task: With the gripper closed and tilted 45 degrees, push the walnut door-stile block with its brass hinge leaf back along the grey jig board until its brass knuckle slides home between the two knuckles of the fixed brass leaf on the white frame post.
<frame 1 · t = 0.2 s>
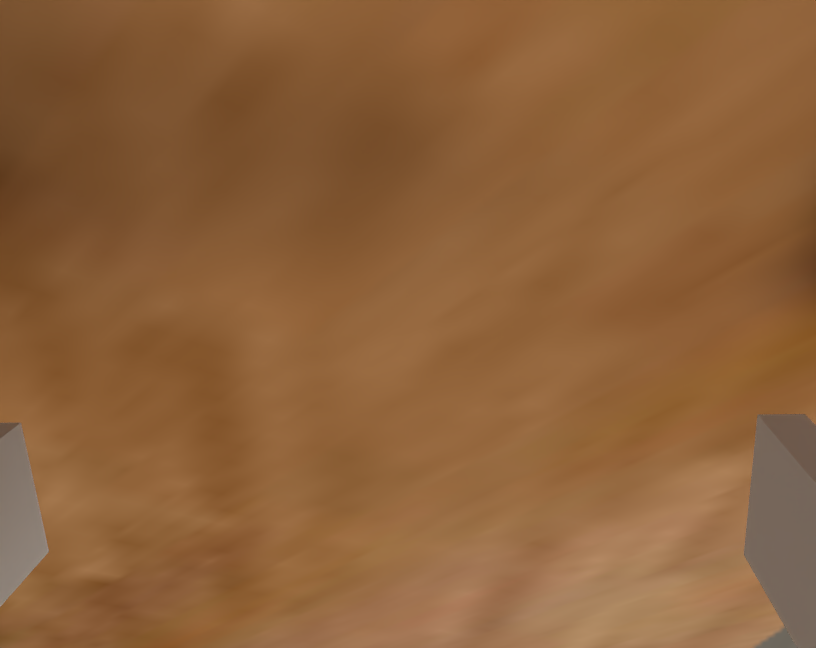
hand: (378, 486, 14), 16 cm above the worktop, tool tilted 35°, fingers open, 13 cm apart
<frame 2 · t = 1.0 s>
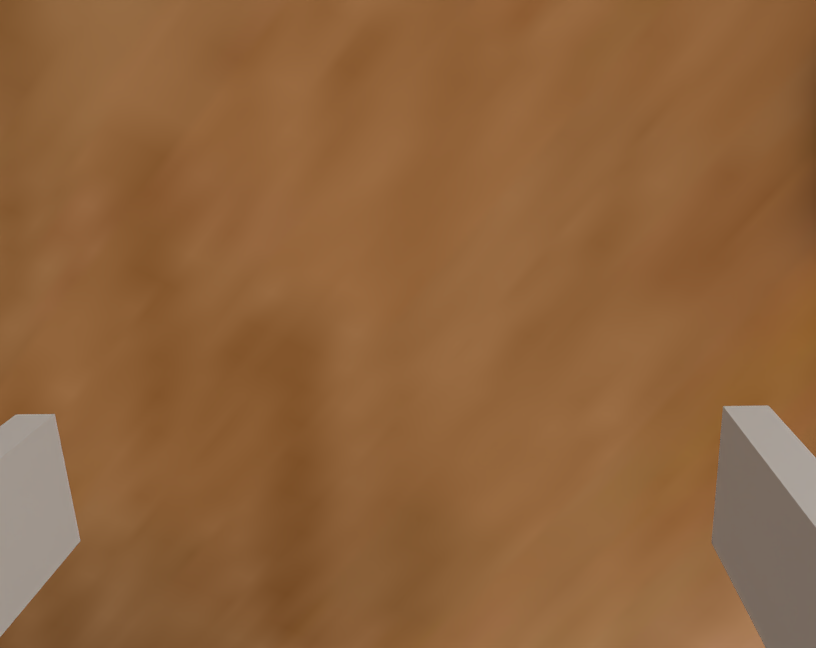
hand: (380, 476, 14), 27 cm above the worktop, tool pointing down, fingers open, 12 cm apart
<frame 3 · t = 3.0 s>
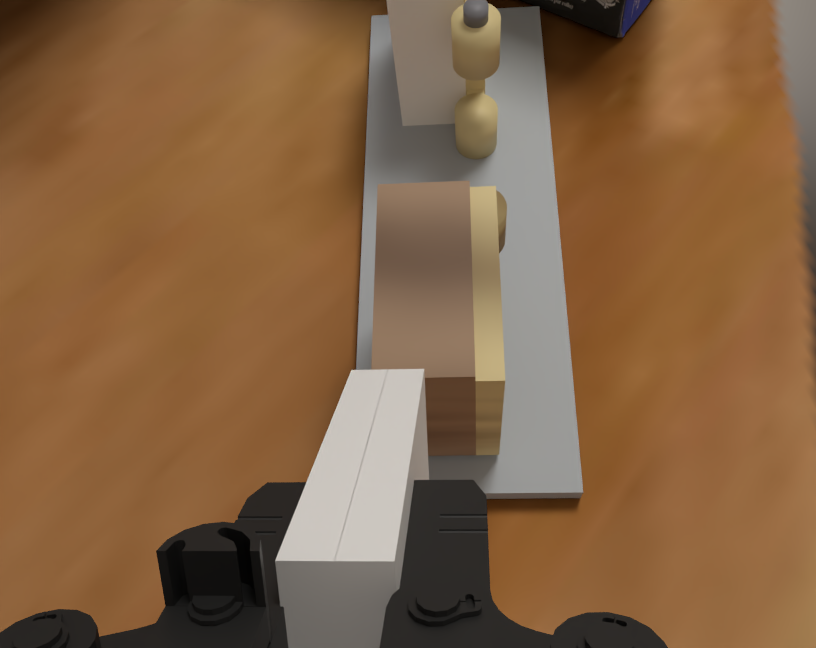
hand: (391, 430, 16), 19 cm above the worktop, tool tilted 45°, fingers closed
hinge jig: (476, 154, 43), on the worktop
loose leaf: (449, 301, 32), point 6 cm above the worktop, slide at 8.0 cm
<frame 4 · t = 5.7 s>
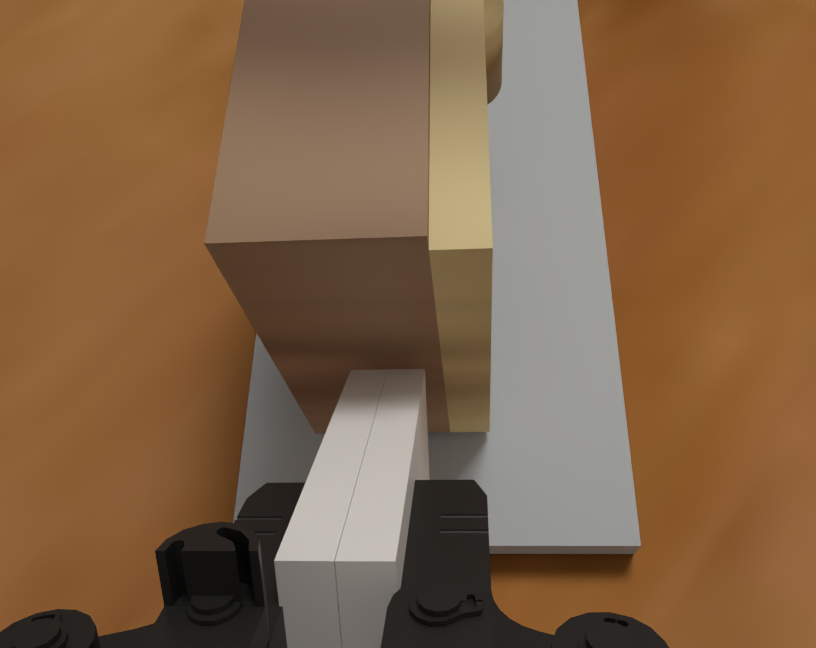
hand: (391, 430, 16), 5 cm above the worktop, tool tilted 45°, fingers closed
hinge jig: (462, 21, 28), on the worktop
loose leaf: (401, 157, 18), point 6 cm above the worktop, slide at 6.8 cm, touching gripper
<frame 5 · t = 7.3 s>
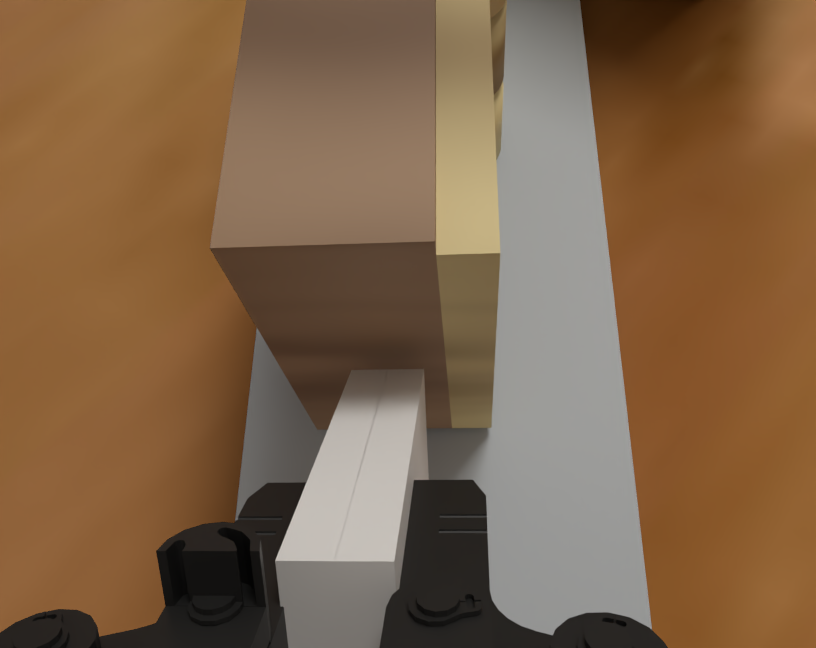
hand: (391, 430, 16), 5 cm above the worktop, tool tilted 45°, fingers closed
hinge jig: (465, 165, 25), on the worktop
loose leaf: (403, 153, 18), point 6 cm above the worktop, slide at -0.1 cm, touching gripper
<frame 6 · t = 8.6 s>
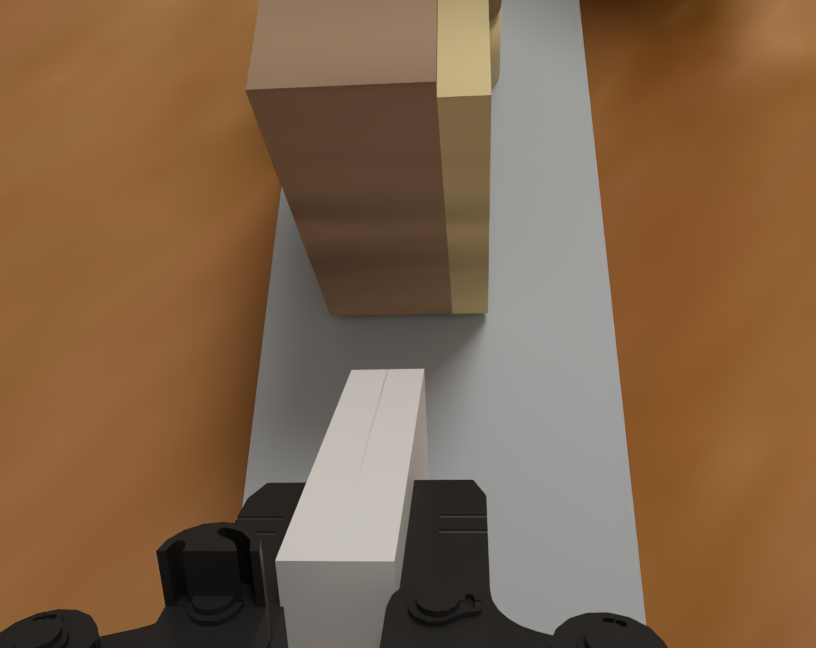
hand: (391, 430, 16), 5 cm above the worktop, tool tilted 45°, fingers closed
hinge jig: (467, 94, 27), on the worktop
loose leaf: (410, 58, 20), point 6 cm above the worktop, slide at 0.0 cm
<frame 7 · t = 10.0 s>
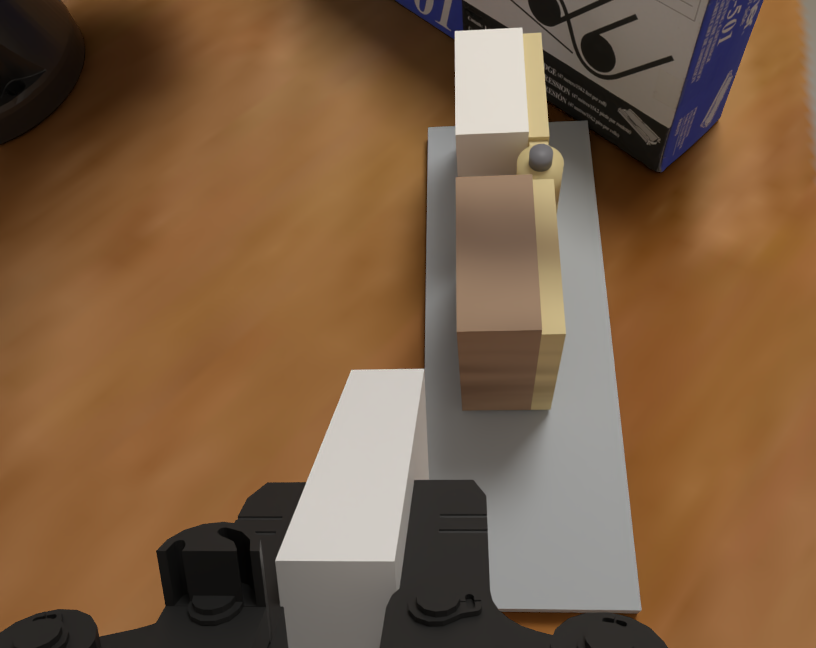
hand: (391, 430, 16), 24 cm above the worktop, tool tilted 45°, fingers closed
ink box: (510, 38, 54), on the worktop
hinge jig: (530, 266, 45), on the worktop
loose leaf: (510, 277, 38), point 6 cm above the worktop, slide at 0.0 cm
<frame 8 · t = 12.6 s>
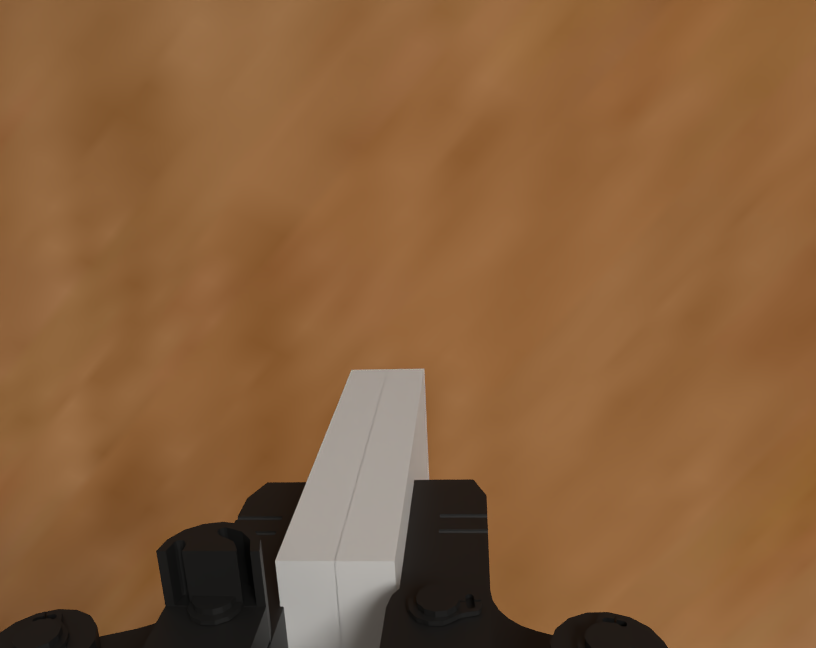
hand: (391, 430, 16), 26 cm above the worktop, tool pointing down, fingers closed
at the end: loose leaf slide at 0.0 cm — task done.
